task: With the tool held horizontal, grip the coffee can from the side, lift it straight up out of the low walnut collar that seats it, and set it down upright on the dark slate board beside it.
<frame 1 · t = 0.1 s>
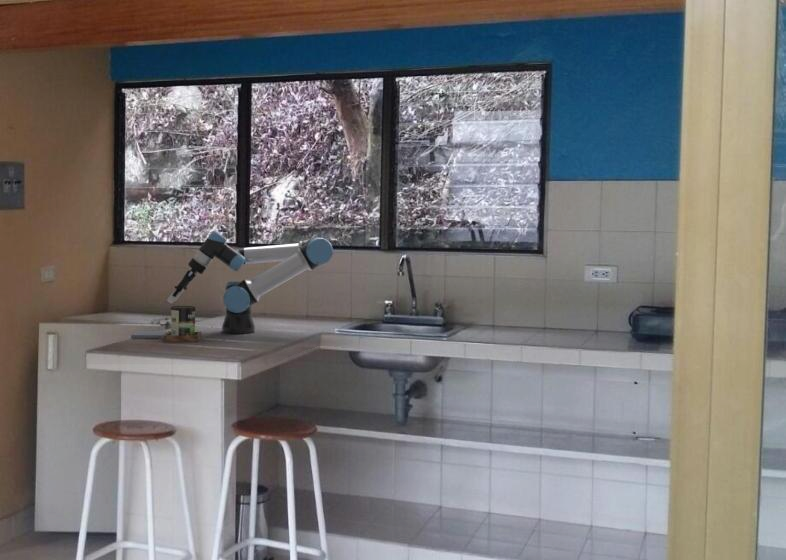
hand: (171, 300, 405), 15 cm above the worktop, tool tilted 35°, fingers open, 13 cm apart
coffee can: (182, 340, 392), resting in walnut collar
slate board: (148, 336, 399), on the worktop
walnut collar: (182, 339, 392), on the worktop
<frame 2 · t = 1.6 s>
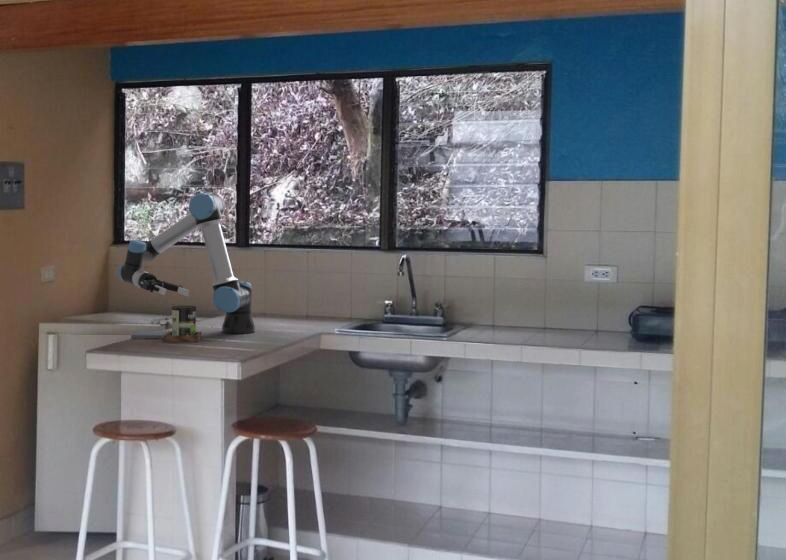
hand: (177, 292, 397), 19 cm above the worktop, tool horizontal, fingers open, 13 cm apart
nothing on the worktop moved.
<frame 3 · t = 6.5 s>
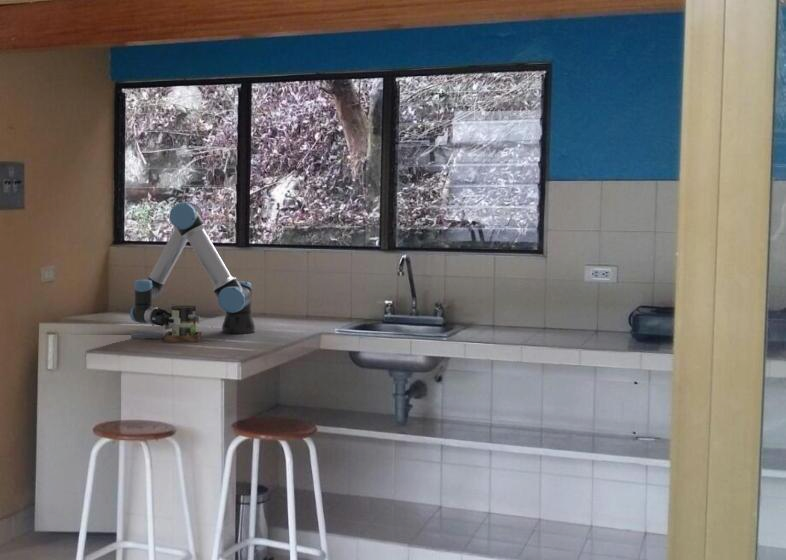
hand: (189, 320, 389), 8 cm above the worktop, tool horizontal, fingers closed on coffee can, 10 cm apart
coffee can: (183, 339, 392), resting in walnut collar, touching gripper
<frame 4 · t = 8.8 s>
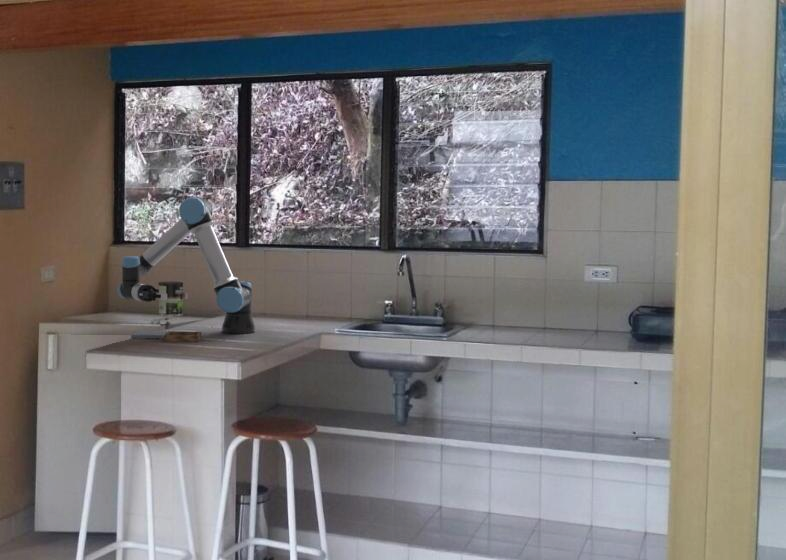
hand: (176, 296, 390), 19 cm above the worktop, tool horizontal, fingers closed on coffee can, 10 cm apart
coffee can: (170, 315, 393), point 10 cm above the worktop, touching gripper
when the fingers open (11 cm above the worktop, at t = 11.2 s): coffee can drops 1 cm, resting on slate board.
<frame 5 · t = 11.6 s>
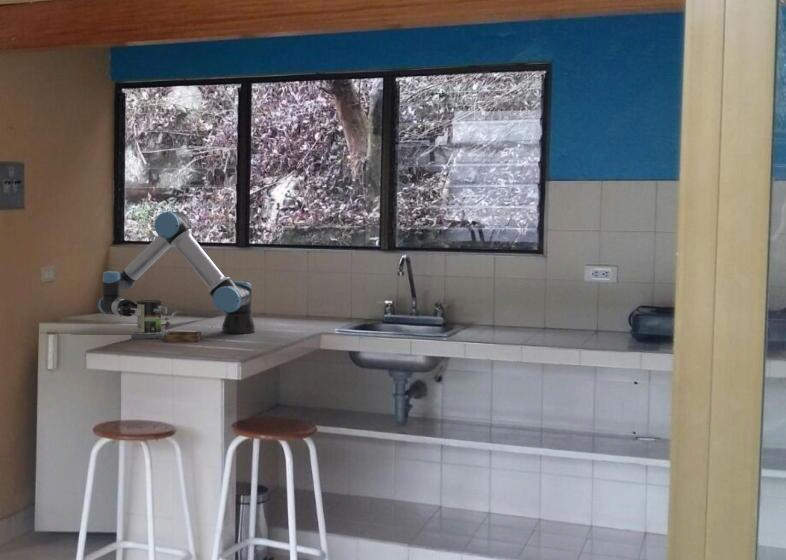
hand: (153, 311, 396), 11 cm above the worktop, tool horizontal, fingers open, 13 cm apart
coffee can: (149, 333, 399), point 1 cm above the worktop, touching slate board
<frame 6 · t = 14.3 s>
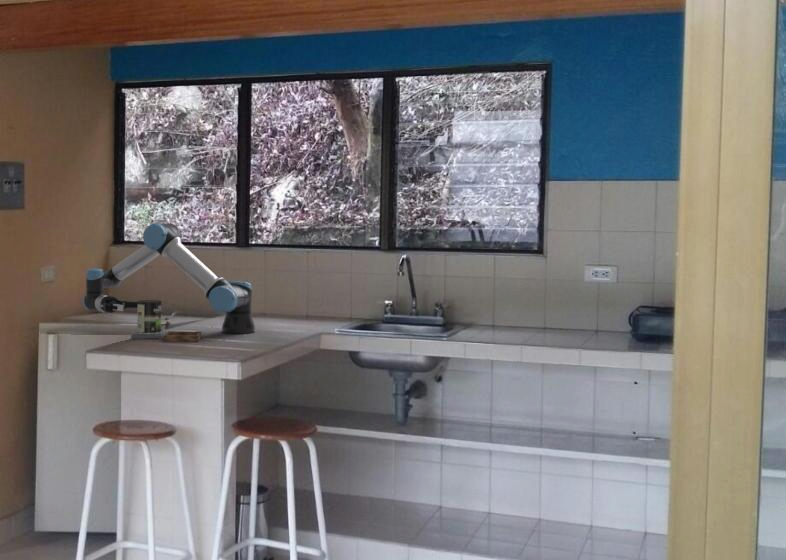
hand: (135, 307, 404), 12 cm above the worktop, tool horizontal, fingers open, 13 cm apart
nothing on the worktop moved.
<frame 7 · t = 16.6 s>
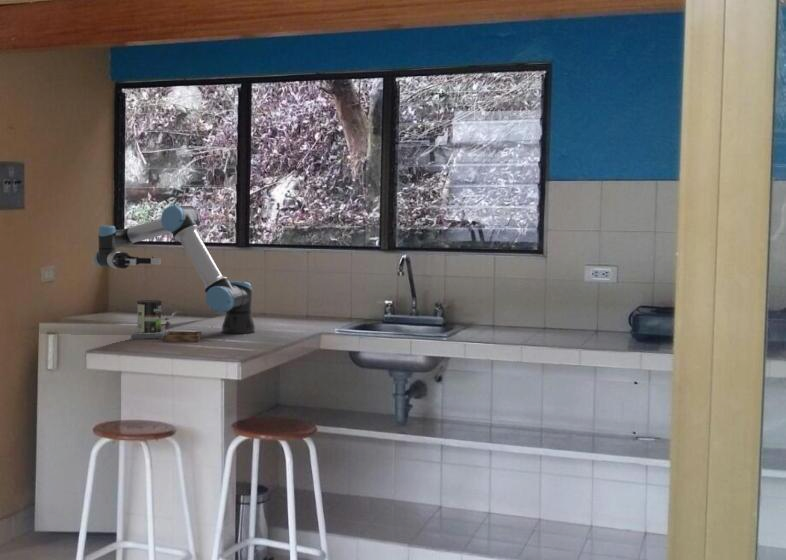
hand: (147, 262, 407), 32 cm above the worktop, tool horizontal, fingers open, 13 cm apart
nothing on the worktop moved.
at the end: coffee can inside the target area on the slate board (0.2 cm from its centre), point 1.3 cm above the slate board's base; coffee can tilted 0°; the gripper is holding nothing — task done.
